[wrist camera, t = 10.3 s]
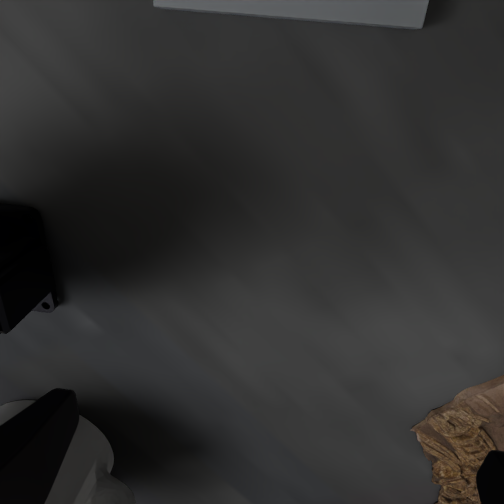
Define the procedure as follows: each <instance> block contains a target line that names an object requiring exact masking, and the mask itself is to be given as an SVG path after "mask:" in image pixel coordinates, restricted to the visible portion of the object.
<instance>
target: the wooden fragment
mask: <svg viewBox="0 0 504 504" xmlns="http://www.w3.org/2000/svg"><path fill="white" fill-rule="evenodd" d="M411 431H414V432H416V434H417V440H418V441H420V444H421V445H422V447H423V452H424V454H425V457H426V458H427V459H428V460H432V463H433V464H432V467H433V468H432V472H433V476H432V482H433V483H434V484H440V485H441V490H440V491H439V495H438V502H437V503H434V504H481V502H480V498H479V494H478V490H477V485H476V474H477V471H478V469H479V468H480V466H481V464H482V462H483V461H484V459H485V457H486V456H487V454H488V452H489V451H491V450H499V451H504V375H503V376H500V377H498V378H495V379H493V380H490V381H488V382H485V383H483V384H480V385H476V386H473V387H470V388H467V389H465V390H463V391H461V392H460V393H459V394H458V395H456V396H455V398H454V400H453V401H451V402H449V403H447V404H445V405H444V406H442V407H440V408H437V409H435V410H431V412H430V413H429V414H428V417H426V419H425V420H423V421H421V422H420V423H419V424H416V425H415V426H413V427H412V429H411Z"/></svg>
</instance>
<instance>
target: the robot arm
mask: <svg viewBox="0 0 504 504" xmlns="http://www.w3.org/2000/svg"><path fill="white" fill-rule="evenodd" d="M27 215H29V216H30V217H31V218H32V220H30V219H29V218H28V216H27ZM47 303H48V304H49V305H48V304H47ZM57 306H58V301H57V296H56V291H55V282H54V277H53V271H52V266H51V261H50V256H49V251H48V249H47V245H46V240H45V234H44V229H43V224H42V219H41V215H40V213H39V212H38V211H37V210H36V209H34V208H32V207H25V206H16V205H7V204H0V334H1V333H5V334H7V333H8V332H10V331H11V330H12V329H13V328H14V327H15V326H16V325H17V324H18V323H19V322H20V321H21V320H22V319H23V318H24V317H25V316H26V315H27V314H28V313H29V312H31V311H38V312H46V313H50V312H53V311H54V309H55V308H56V307H57ZM78 423H79V409H78V404H77V399H76V394H75V392H74V391H73V390H68V389H61V388H56V389H53V390H51V391H50V392H48V393H47V394H46V395H44V396H43V397H41V398H40V399H38V400H37V401H35V402H34V403H32V404H31V405H29V406H28V407H26V408H25V409H24V410H22V411H21V412H19V413H18V414H16V415H15V416H13V417H12V418H10V419H9V420H7V421H6V422H5V423H3V424H2V425H0V504H45V502H46V500H47V498H48V495H49V493H50V491H51V489H52V486H53V484H54V482H55V479H56V477H57V474H58V472H59V470H60V467H61V465H62V462H63V460H64V458H65V455H66V453H67V450H68V448H69V446H70V443H71V441H72V438H73V436H74V434H75V431H76V429H77V426H78ZM476 485H477V490H478V494H479V498H480V502H481V504H504V451H499V450H491V451H489V452H488V454H487V456H486V457H485V459H484V461H483V462H482V464H481V466H480V468H479V469H478V471H477V474H476Z"/></svg>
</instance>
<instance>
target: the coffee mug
mask: <svg viewBox="0 0 504 504" xmlns="http://www.w3.org/2000/svg"><path fill="white" fill-rule="evenodd" d="M35 401H37V400H19V401H13V402H9V403H6V404H4V405H2V406H0V425H2V424H3V423H5V422H6V421H7V420H9V419H10V418H12V417H13V416H15V415H16V414H18V413H19V412H21V411H22V410H24V409H25V408H26V407H28V406H29V405H31V404H32V403H34V402H35ZM113 464H114V454H113V451H112V448H111V445H110V443H109V442H108V440H107V438H106V437H105V435H104V434H103V433H102V432H101V431H100V430H99V429H98V428H97V427H96V426H95V425H94V424H92V423H91V422H90V421H89V420H87V419H86V418H84V417H82V416H81V415H79V423H78V426H77V429H76V431H75V434H74V436H73V438H72V441H71V443H70V446H69V448H68V450H67V453H66V455H65V458H64V460H63V462H62V465H61V467H60V470H59V472H58V474H57V477H56V479H55V482H54V484H53V486H52V489H51V491H50V493H49V495H48V498H47V500H46V502H45V504H136V501H135V498H134V495H133V492H132V491H131V490H130V489H129V488H128V487H127V486H126V485H125V484H124V483H123V482H121V481H120V480H118V479H116V478H115V477H113V476H112V475H111V474H110V472H111V470H112V467H113Z"/></svg>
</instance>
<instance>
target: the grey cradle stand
mask: <svg viewBox="0 0 504 504" xmlns="http://www.w3.org/2000/svg"><path fill="white" fill-rule="evenodd" d="M153 2H154V7H157V8H160V9H167V10H179V11H191V12H203V13H215V14H228V15H240V16H252V17H264V18H277V19H289V20H301V21H313V22H325V23H338V24H350V25H362V26H374V27H387V28H399V29H411V30H416V29H421V28H422V27H423V23H424V19H425V15H426V11H427V7H428V3H429V0H153Z"/></svg>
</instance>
